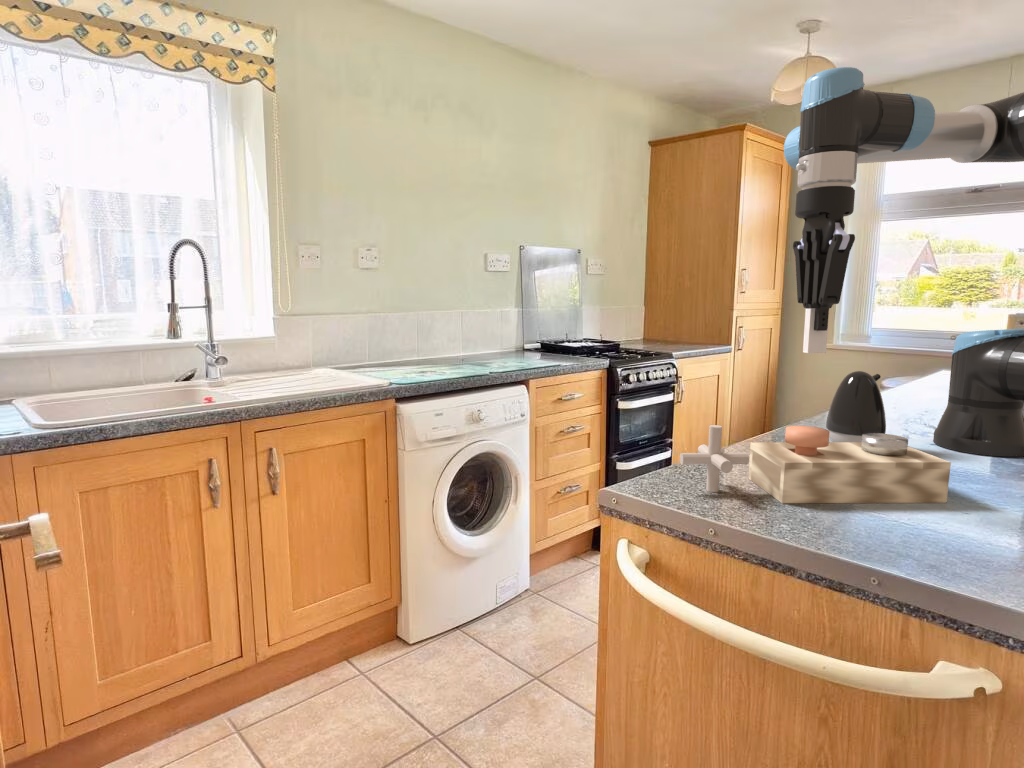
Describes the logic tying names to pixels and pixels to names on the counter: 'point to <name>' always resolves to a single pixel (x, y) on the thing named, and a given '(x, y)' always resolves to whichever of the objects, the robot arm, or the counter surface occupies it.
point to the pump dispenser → (856, 408)
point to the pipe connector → (714, 458)
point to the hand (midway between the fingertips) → (814, 352)
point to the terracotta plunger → (806, 439)
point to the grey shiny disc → (884, 444)
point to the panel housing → (848, 474)
